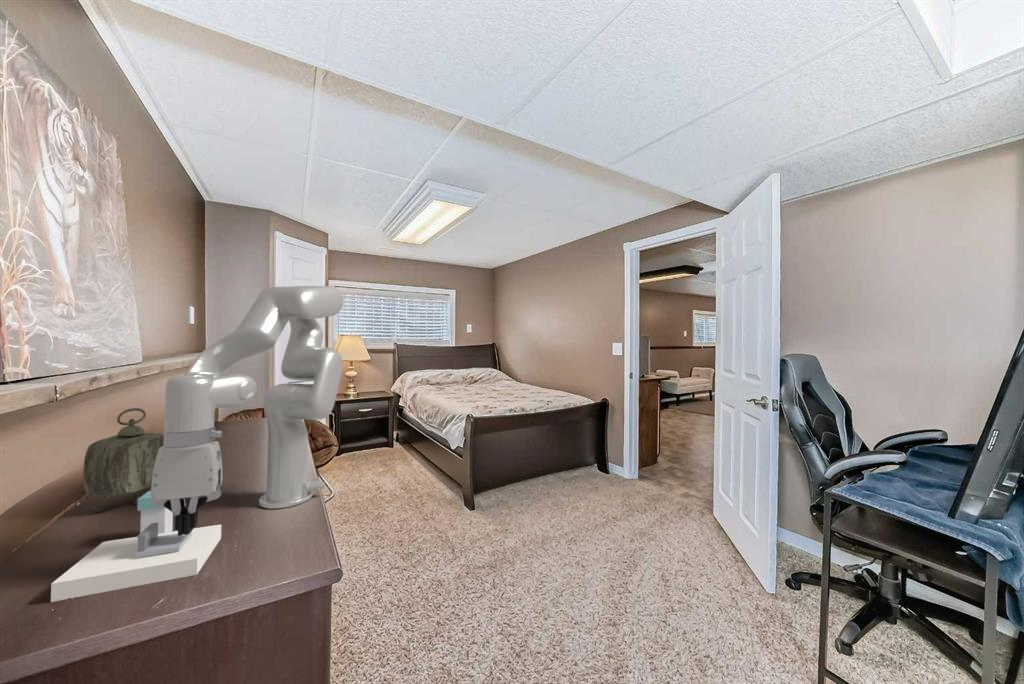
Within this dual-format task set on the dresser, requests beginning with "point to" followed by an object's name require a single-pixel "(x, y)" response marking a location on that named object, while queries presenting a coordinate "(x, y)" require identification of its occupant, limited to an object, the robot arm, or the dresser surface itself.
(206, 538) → the socket
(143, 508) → the plug
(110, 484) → the tabletop clock
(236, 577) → the dresser surface
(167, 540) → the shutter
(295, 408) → the robot arm
